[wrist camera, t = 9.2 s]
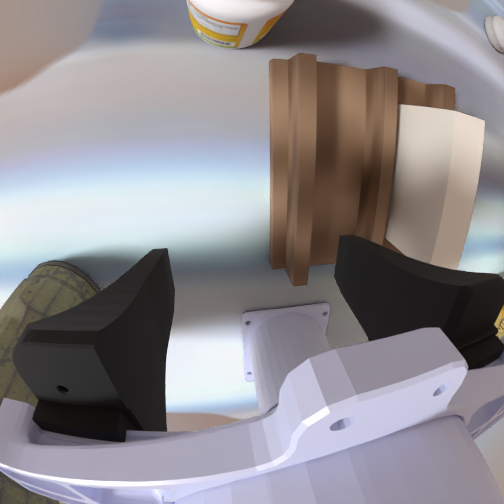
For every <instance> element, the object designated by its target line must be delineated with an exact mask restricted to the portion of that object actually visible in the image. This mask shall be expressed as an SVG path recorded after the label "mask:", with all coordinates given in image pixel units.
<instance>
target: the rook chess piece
mask: <svg viewBox="0 0 504 504" xmlns="http://www.w3.org/2000/svg"><path fill="white" fill-rule="evenodd" d="M484 26H485V31H486V35H487V37H488V39H489V41H490V43H491V44H492V45H493V47H494V48H496V49H497V50H498V51H500V52H501V53H504V18H502V17H500V16H496V15H495V16H491V15H489V16H488V17H486V19H485V23H484Z"/></svg>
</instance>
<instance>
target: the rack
mask: <svg viewBox="0 0 504 504" xmlns="http://www.w3.org/2000/svg"><path fill="white" fill-rule="evenodd" d="M269 75H270V265H271V268H272V269H281V268H285V269H286V271H287V274H288V276H289V278H290V280H291V282H292V285H293V286H301V285H307V280H308V270H309V266H313V265H323V264H333V263H336V259H337V252H338V244H339V235H356V236H359V237H362V238H365V239H367V240H370V241H372V242H374V243H377V244H379V245H381V246H383V247H386V248H388V249H390V250H393V251H395V252H398V253H400V254H403V253H402V252H401V251H400V250H398V249H397V248H396V247H395V246H394V245H393V244H392V243H390V242H389V241H388V240H387V239H386V238H385V237H384V232H385V226H386V220H387V214H388V207H389V200H390V192H391V184H392V176H393V166H394V156H395V143H396V127H397V104H402V105H413V106H423V107H431V108H439V109H446V110H453V111H455V88H454V87H451V86H449V85H443V84H424V83H420V82H417V81H413V80H409V79H406V78H402V77H398V70H397V69H393V68H388V67H379V68H372V69H360V68H355V67H349V66H342V65H335V64H328V63H319V62H316V55H314V54H304V53H298V54H297V55H295V56H293V57H292V58H290V59H288V60H284V59H272V60H270V61H269ZM403 255H404V254H403Z"/></svg>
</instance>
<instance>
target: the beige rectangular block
mask: <svg viewBox="0 0 504 504" xmlns="http://www.w3.org/2000/svg"><path fill="white" fill-rule="evenodd" d="M484 126H485V121H483V120H481V119H478V118H475V117H472V116H469V115H466V114H463V113H460V112H457V111H453V110H446V109H439V108H431V107H423V106H413V105H402V104H397V127H396V143H395V156H394V166H393V176H392V184H391V192H390V200H389V207H388V214H387V220H386V226H385V232H384V237H385V238H386V239H387V240H388V241H389V242H390V243H392V244H393V245H394V246H395V247H396V248H397V249H398V250H400V251H401V252H402V253H403V254H404V255H405V256H408V257H410V258H413V259H416V260H419V261H422V262H425V263H429V264H432V265H436V266H440V267H444V268H449V269H454V270H457V268H458V265H459V262H460V258H461V255H462V251H463V248H464V244H465V241H466V237H467V233H468V229H469V225H470V221H471V216H472V212H473V207H474V202H475V197H476V192H477V186H478V180H479V174H480V166H481V159H482V150H483V139H484Z"/></svg>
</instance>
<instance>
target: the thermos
mask: <svg viewBox="0 0 504 504" xmlns="http://www.w3.org/2000/svg"><path fill="white" fill-rule="evenodd" d="M99 292H101V290H100V289H99V287H98V286H97V285H96V284H95V283H94V281H93V280H92V279H91V278H90V277H89V276H88V275H87V274H85V273H84V272H82V271H81V270H80V269H78V268H77V267H75V266H72V265H70V264H67V263H64V262H61V261H47V262H44V263H42V264H39V265H38V266H37V267H36V268H35V269H34V270H33V271H32V272H31V273H30V275H29V276H28V278H26V279H24V280H23V281H22V282H21V283H20V284H19V286H18V287H17V288H16V289H15V290H14V292H13V293H12V294H11V296H10V297H9V298H8V300H7V301H6V302H5V304H4V305H3V306H2V308H1V309H0V407H1V404H2V402H3V399H4V398H8V399H12V400H16V401H20V402H25V403H28V404H30V405H32V406H33V407H35V408H36V406H37V403H38V399H37V398H36V396H35V395H34V394H33V392H32V391H31V390H30V388H29V387H28V386H27V384H26V383H25V382H24V380H23V379H22V378H21V376H20V375H19V373H18V371H17V370H16V368H15V366H14V362H13V359H12V350H13V349H14V347H15V345H16V343H17V341H18V339H19V338H20V336H21V334H22V332H23V331H24V329H25V327H26V325H27V324H28V323H31V322H34V321H38V320H41V319H44V318H47V317H50V316H53V315H56V314H58V313H61V312H63V311H65V310H68V309H70V308H72V307H74V306H76V305H78V304H80V303H82V302H84V301H86V300H87V299H89V298H91V297H93V296H95V295H96V294H98V293H99ZM0 504H60V503H59V501H58V500H55V499H52V498H49V497H46V496H43V495H40V494H38V493H35V492H32V491H30V490H28V489H26V488H25V487H23V486H22V485H20V484H19V483H17V482H16V481H14V480H13V479H11V478H10V477H8V476H7V475H6V474H4V473H3V472H1V471H0Z"/></svg>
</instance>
